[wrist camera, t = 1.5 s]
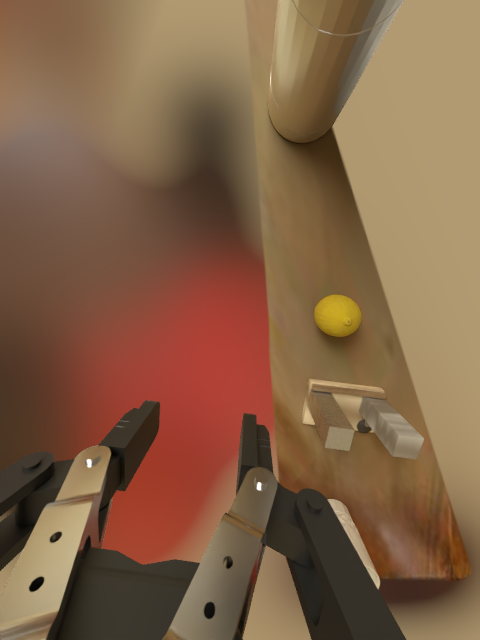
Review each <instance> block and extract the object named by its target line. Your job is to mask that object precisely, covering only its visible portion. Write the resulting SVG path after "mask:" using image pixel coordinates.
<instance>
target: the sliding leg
mask: <svg viewBox="0 0 480 640" xmlns="http://www.w3.org/2000/svg"><path fill="white" fill-rule="evenodd" d="M307 406H308V408H309V410H310V413H311V415H312V418H313V420H314V423H315V425H316V428H317V430H318V432H319V435H320V437H321V440H322V442H323V445H324V447H325V448H330V449H338V450H345V451H349V450H350V446H351V442H352V438H353V435H354V431H355V430H354V428H353V426H352V425H351V423H350V422H349V420H348V419H347V417H346V416H345V414H344V412H343V411H342V409H341V408H340V406H339V405H338V403H337V401H336V400H335V398H334V397H333V395H332V394H331V392H323V391H315V390H313V389H312V388H311V389H310V394H309V399H308V404H307Z"/></svg>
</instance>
